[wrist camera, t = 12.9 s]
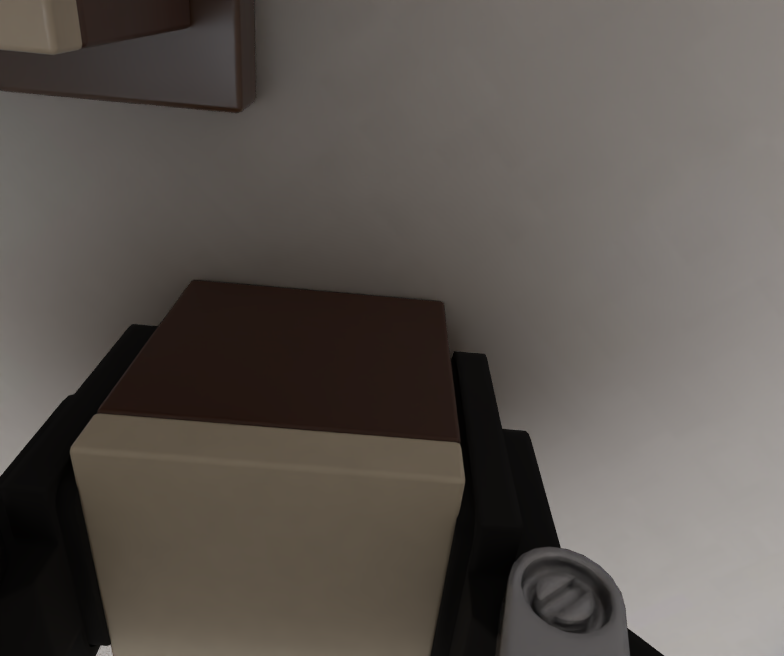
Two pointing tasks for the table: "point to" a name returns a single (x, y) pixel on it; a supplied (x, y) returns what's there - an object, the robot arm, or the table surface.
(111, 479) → the two-tone brown cube
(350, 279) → the table surface
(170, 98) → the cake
